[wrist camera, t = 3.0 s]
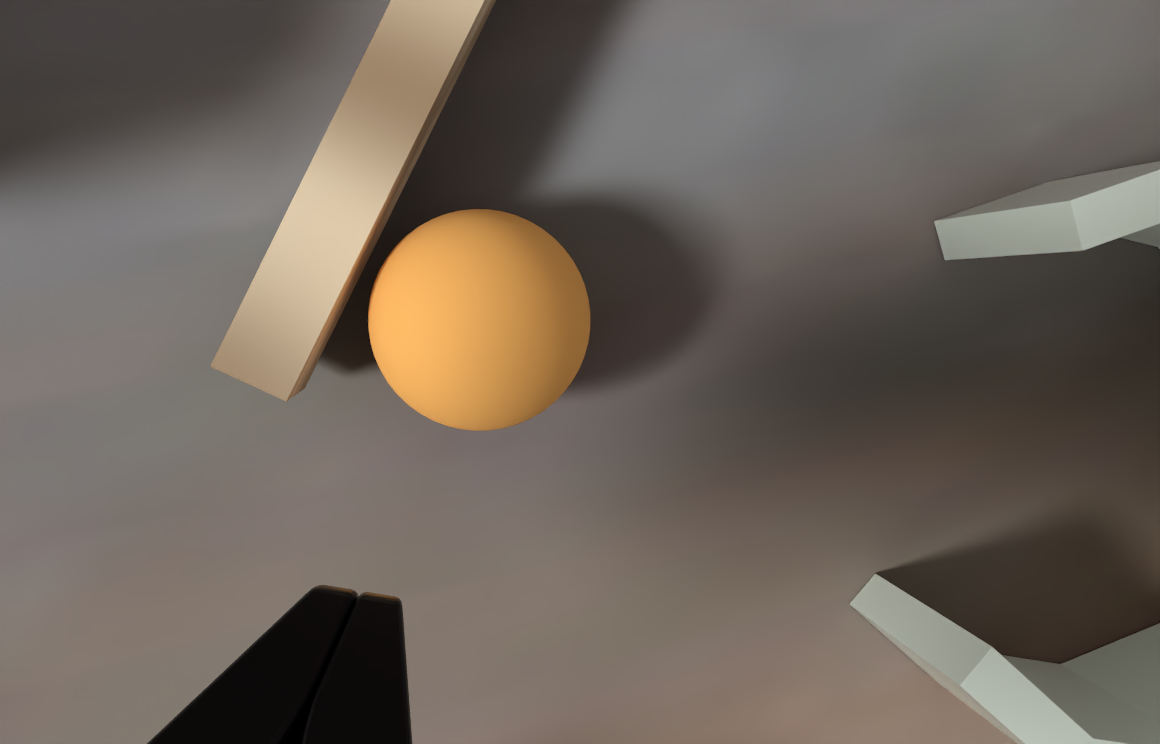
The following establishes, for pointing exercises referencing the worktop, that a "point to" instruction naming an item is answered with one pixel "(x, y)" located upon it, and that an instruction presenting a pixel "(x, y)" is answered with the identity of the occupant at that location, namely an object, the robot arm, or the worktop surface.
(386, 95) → the flipper lever
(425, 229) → the ball
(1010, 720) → the curved wall
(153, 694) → the worktop surface
